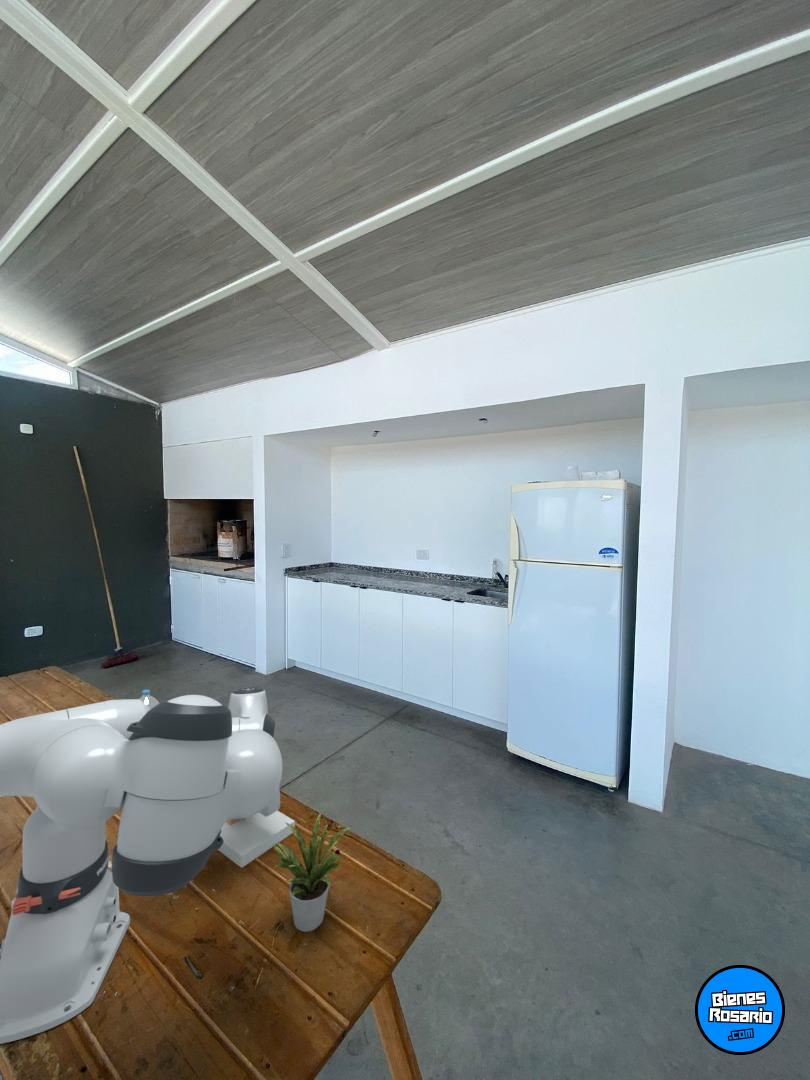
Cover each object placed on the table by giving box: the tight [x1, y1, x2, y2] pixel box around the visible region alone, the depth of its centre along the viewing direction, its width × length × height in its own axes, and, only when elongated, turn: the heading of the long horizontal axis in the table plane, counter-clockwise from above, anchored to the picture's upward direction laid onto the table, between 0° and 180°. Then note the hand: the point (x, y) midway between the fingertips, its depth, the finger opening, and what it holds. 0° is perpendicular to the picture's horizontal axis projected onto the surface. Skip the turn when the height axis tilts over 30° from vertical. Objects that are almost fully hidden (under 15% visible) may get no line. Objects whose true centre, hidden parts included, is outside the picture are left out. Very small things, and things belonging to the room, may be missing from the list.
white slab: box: [216, 810, 296, 868], centre depth 103 cm, size 18×14×2 cm
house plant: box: [272, 811, 354, 933], centre depth 82 cm, size 14×14×16 cm
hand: (245, 817), depth 103 cm, fingers closed
